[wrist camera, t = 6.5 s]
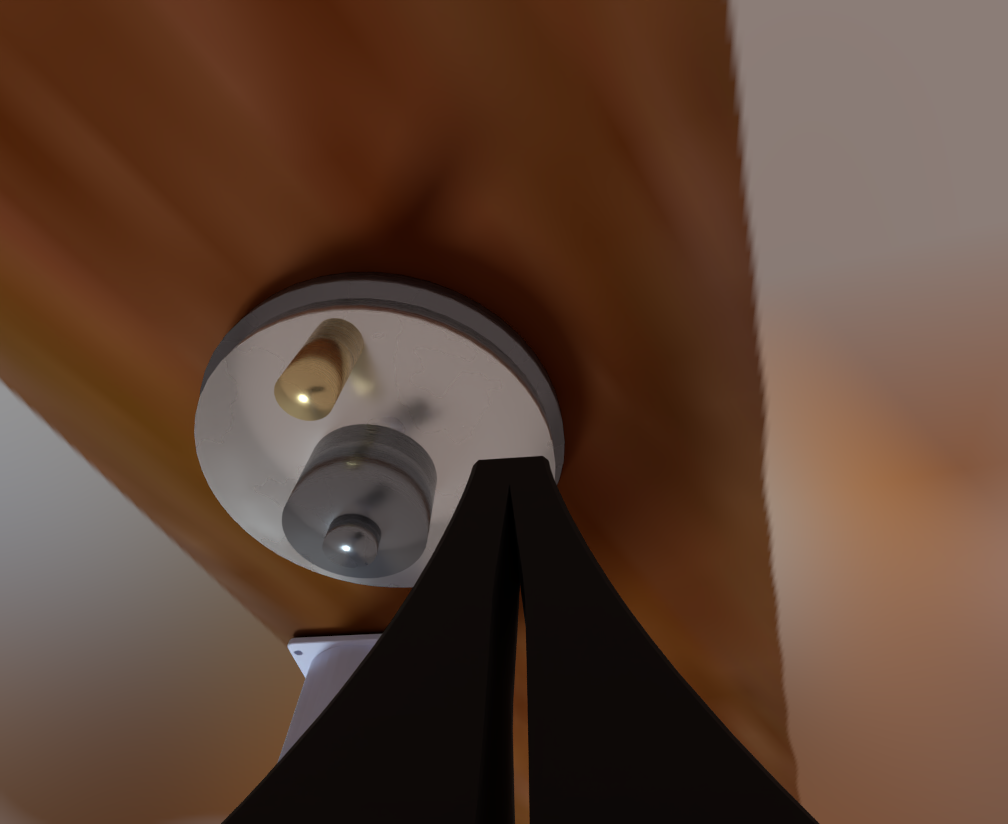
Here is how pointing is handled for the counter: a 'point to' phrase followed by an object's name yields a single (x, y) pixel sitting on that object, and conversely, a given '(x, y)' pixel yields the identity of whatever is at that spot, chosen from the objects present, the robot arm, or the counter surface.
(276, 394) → the turntable
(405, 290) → the turntable base
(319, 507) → the lid
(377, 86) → the counter surface
